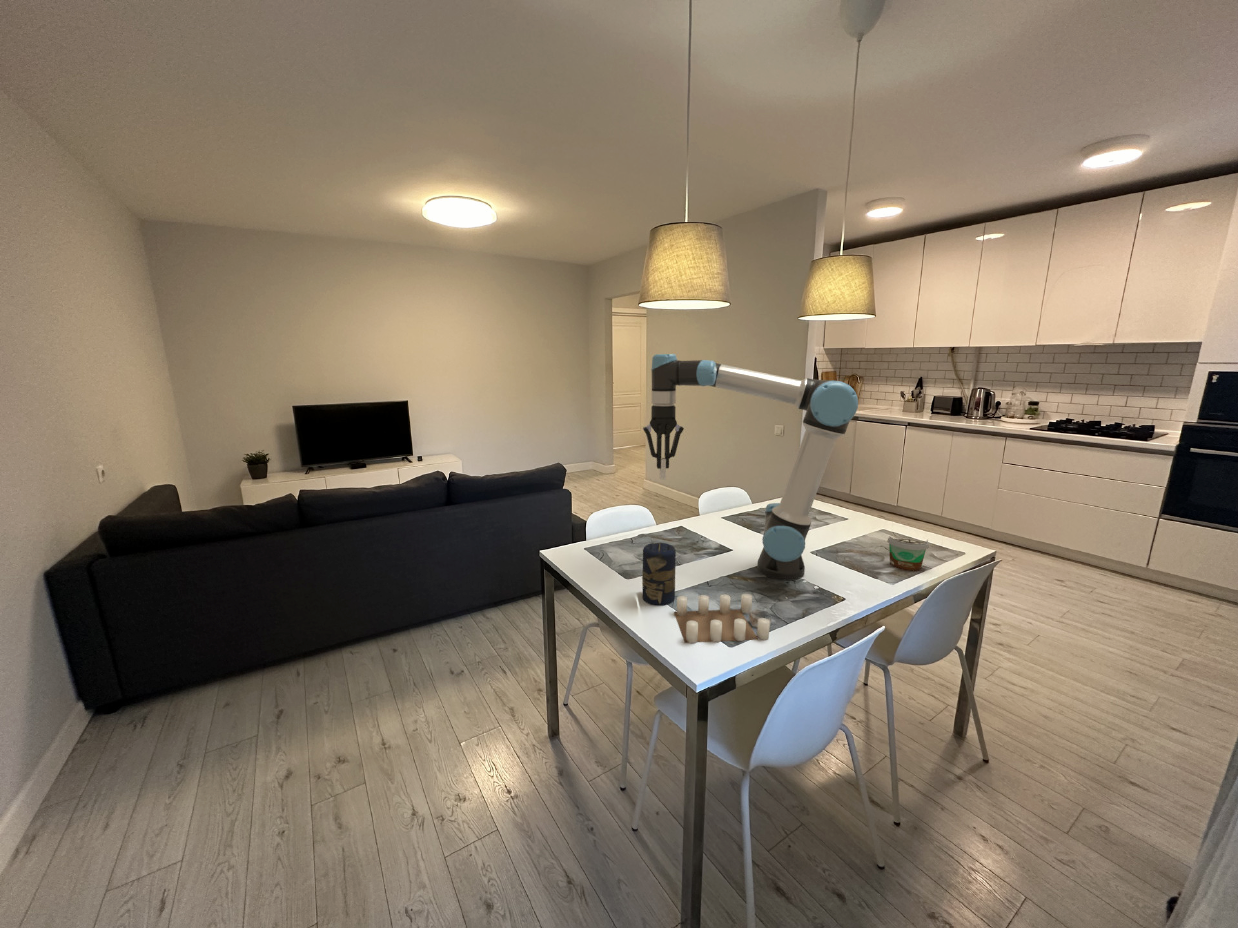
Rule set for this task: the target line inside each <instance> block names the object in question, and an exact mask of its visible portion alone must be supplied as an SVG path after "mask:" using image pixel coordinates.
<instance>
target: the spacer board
mask: <svg viewBox="0 0 1238 928" xmlns="http://www.w3.org/2000/svg"><path fill="white" fill-rule="evenodd" d="M673 614H674V616H675V620H676V623H677V625H678V627H679V631H680V633H681V636H682V638H683V641H684V644H689V642H687V641H686V628H687V622H688V621H696V622H697V623H698V641H697V642H696V643H711V642H713V641H711V640H710V624H711V620H720V621H721V622H722V639H721V641H720V642H732V641H733V642H735V641H737V640H735V639H734V620H735V619H743V620H745V621H746V632H745V640H744V641H755V640H758V641H759V638H758V637H757V634H756V633H755V632H754V630H753V629H752V628H753V627H751V624H750V623H749V621H748V620H747V619H746V618H745V616H744V613H743V612H741V608H740V609H738V608H736V609H730V613H729V614H722V613H720V609H715V610H711V609H709V612H708V614H707V615H700V614H699V613H698V610H689V611H688V610H687V615H685V616H679V615H677V611H673ZM713 643H714V642H713Z"/></svg>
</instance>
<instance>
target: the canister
mask: <svg viewBox="0 0 1238 928" xmlns="http://www.w3.org/2000/svg"><path fill="white" fill-rule="evenodd" d="M676 555H677V552H676V549H675V547H674V546H673V545H671V544H669V543H665V542H651V543H648V544H646V545H645V546H643V548H642V574H641V575H642V576H641V579H642V581H641V582H642V588H641V589H642V593H641V594H642V600H643V602H645V603H646V604H649V605H650V606H659V607H660V606H667V605H670V604H672V603H674V601H675V597H676V596H675V595H676V560H677V558H676Z"/></svg>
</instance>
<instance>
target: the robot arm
mask: <svg viewBox="0 0 1238 928" xmlns="http://www.w3.org/2000/svg"><path fill="white" fill-rule="evenodd" d="M650 370H651V404H652V405H651V409H650V410H651V412H650V413H651V417H650V418H651V419H650V421H649V424H648V425H646V426H643V427H642V430H643V432H644V433H645V434H646V439H647V442H648V447H649V451H650V456H651V457H652V458H655V459H656V468H657V469H658V470H659V478H660V480H666V478H667V474H666V472H667V469H669V468H670V459H671V458H675V456H676V452H677V449H678V445H679V441H680V438H681V434H682V433H683V432H684V430H685V428H684V426H681V425H680V424H678V421H677V420H676V406H675V404H676V401H677V395H676V391H677V386H680V387H681V386H690V387H691V386H695V387H696V386H697V387H699V386H700V387H708V386H709V387H713V388H718V389H721V390H727V391H731V392H736V393H739V394H740V393H741V394H744V395H745V394H746V395H748V396H749V395H750V396H754V397H759V398H763V399H768V400H772V401H776V402H781V403H785V404H790V405H793V406H795V408H796V409H798V410H802V411H806V412H805V415H804V417H803V420H802V425H803V426H804V429H805V432H804V434H803V436H802V440H801V442H800V445H799V448H798V450H797V453H796V457H795V460H794V462H793V466H792V468H791V470H790V471H791V472H790V474H789V477H788V480H787V482H786V485H785V488H784V490H783V494H782V496H781V500H780V502H771V503H768V504H766V506H765V511H764V513H765V517H764V528H763V535H762V545H763V547H762V550H761V552H760V554H759V556H758V559H757V565H756V566H757V567H756V568H757V569H756V570H757V572H759V573H760V574H762V575H764V576H766V577H769V578H772V579H776V580H782V581H783V580H784V581H791V580H792V581H793V580H799V579H800V578H803V577H804V576H805V570H806V567H805V562H804V559H803V556H802V554H803V553H804V551H805V550H806V538H807V535H808V534H809V530H810V528H811V526H812V520H811V518H810V516H809V514H810V512H811V510H812V507H813V504H814V501H815V498H816V496H817V493H818V491H819V487H820V485H821V483H822V480H823V477H824V475H825V472H826V469H827V466H828V464H829V460H830V458H831V455H832V453H833V450H834V447H835V445H836V443H837V439H840V438H841V437H843V436H845V435H846V432H847V429H848V427H849V424H850V421H852V419H853V418H854V416H856V414H857V412H858V407H859V399H858V395H857V393H856V391H855V390H854V388H853V387H852V386H851V385H850V384H849V383H846V382H843V381H839V380H835V379H833V380H832V379H829V380H828V379H827V380H825V379H813V378H808V377H805V378H804V379H796V378H790V377H786V376H782V375H776V374H771V373H767V372H766V373H765V372H761V371H757V370H751V369H748V368H741V367H737V366H732V365H727V364H723V363H722V364H721V363H717V362H715V360H712V359H710V360H708V359H700V360H699V359H698V360H697V359H695V360H694V359H693V360H692V359H691V360H678V358H677V355H676V354H675V353H669V354H668V353H661V354H659V353H657V354H654V355H652V359H651V369H650ZM652 430H653V431H654V433H655V434H656V451H655V445H654V441H653V439H652V434H651V432H652ZM674 430H675V433H674V437H673V441H672V444H670V441H671V433H672V432H673V431H674ZM663 435H664V457H662V446H663V445H662V444H663V443H662V440H663V439H662V438H663ZM670 445H671V446H670Z"/></svg>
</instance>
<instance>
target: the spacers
mask: <svg viewBox="0 0 1238 928" xmlns="http://www.w3.org/2000/svg"><path fill="white" fill-rule="evenodd" d="M697 600H698V606H697V607H698V608H697V609H698V610H697V611H698V613H699V614H700V615H707V614H708V612H709V610H710V609H709V608H710V605H709V604H710V601H709V600H710V597H709V596H708V595H705V594H701V595H698V599H697ZM752 601H753V596H752V594H750V593H749V594H748V593H742V594H741V601H740V602H741V603H740V611H741V612H742V614H747V615H748V614H750V612H752V606H753V605H752V603H753V602H752ZM719 610H720V613H722V614H729V613H730V610H731V596H730V595H729V594H727V593H725V594H723V593H722V594H721V595H719ZM687 611H688V597H687V596H685V595H680V596H679V595H678V596H677V597H676V612H677V615H679V616H685V615H687ZM769 626H770V621H769V620H768V619H766V618H759V619H758V628H757V632H756V633H757V634H756V636H757V638H758V640H760V641H767V640H769V638H770V627H771V626H770V627H769ZM745 632H746V621H745V620H743V619H735V620H734V639H735V640H737V641H738V642H743V641H746V640H745ZM721 639H722V622H721V621H720V620H711V624H710V640H711V641H713V643H720V642H722V641H721ZM686 641H687V642H689V643H690V644H696V643H698V642H697V641H698V623H697V622H696V621H688V622H687V628H686ZM689 643H688V644H689Z"/></svg>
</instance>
